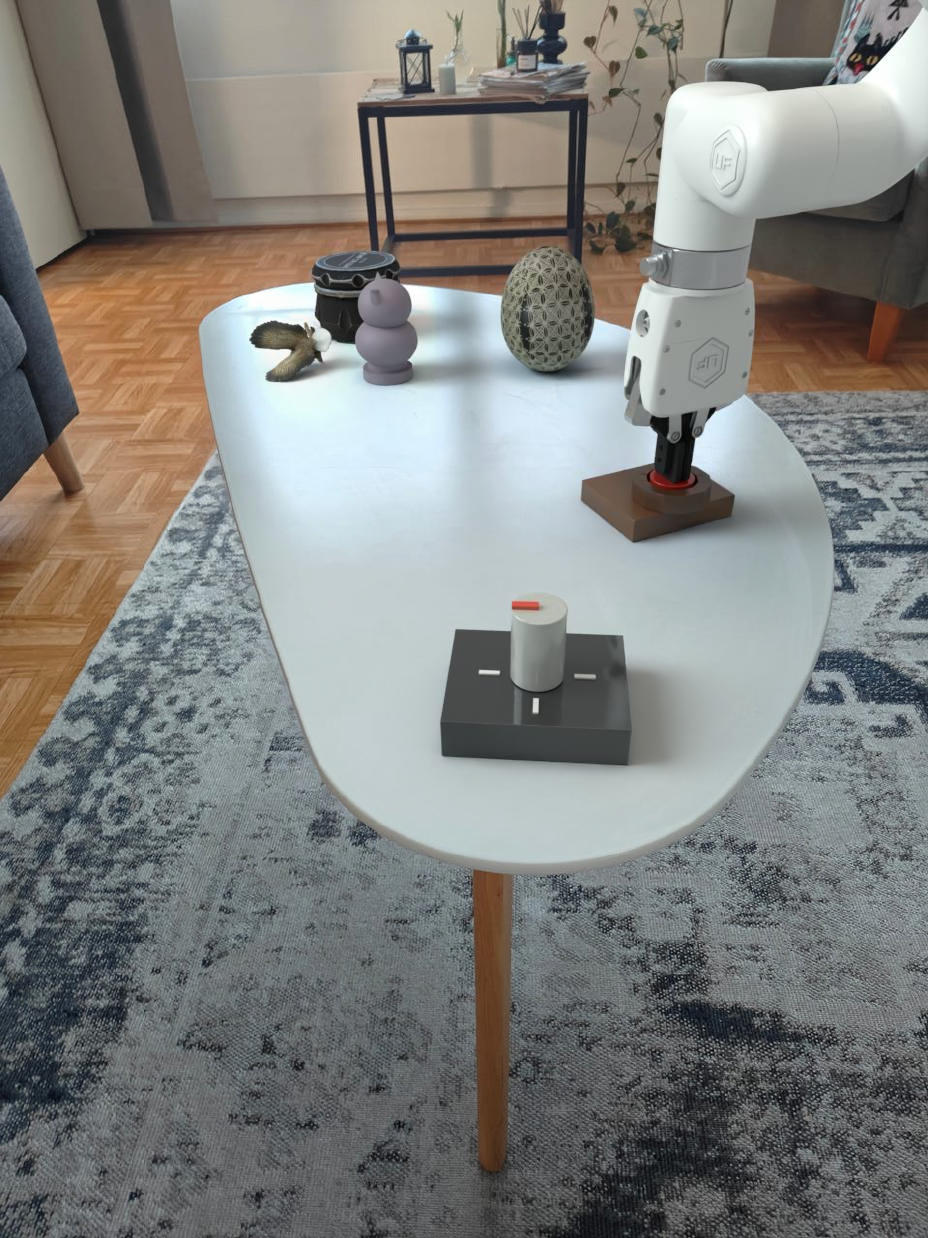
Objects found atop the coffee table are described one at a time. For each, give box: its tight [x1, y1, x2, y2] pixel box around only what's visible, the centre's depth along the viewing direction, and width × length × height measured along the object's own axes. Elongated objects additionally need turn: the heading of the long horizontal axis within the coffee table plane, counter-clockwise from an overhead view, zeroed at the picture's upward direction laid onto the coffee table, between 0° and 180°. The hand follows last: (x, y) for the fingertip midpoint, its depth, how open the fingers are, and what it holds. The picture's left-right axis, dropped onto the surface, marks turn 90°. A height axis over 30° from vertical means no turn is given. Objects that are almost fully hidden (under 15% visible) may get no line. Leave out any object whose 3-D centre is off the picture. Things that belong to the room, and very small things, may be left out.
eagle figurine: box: [248, 320, 332, 382], centre depth 116 cm, size 8×7×9 cm
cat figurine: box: [354, 271, 419, 386], centre depth 112 cm, size 8×8×12 cm
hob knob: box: [510, 592, 569, 692], centre depth 59 cm, size 4×4×6 cm
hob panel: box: [439, 628, 633, 766], centre depth 61 cm, size 12×10×3 cm
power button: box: [649, 470, 695, 490], centre depth 82 cm, size 4×4×2 cm
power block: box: [580, 462, 736, 543], centre depth 84 cm, size 11×10×4 cm
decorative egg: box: [500, 245, 596, 372], centre depth 112 cm, size 12×12×15 cm
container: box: [310, 250, 402, 344], centre depth 127 cm, size 13×13×10 cm
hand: (671, 475), depth 82 cm, fingers closed
